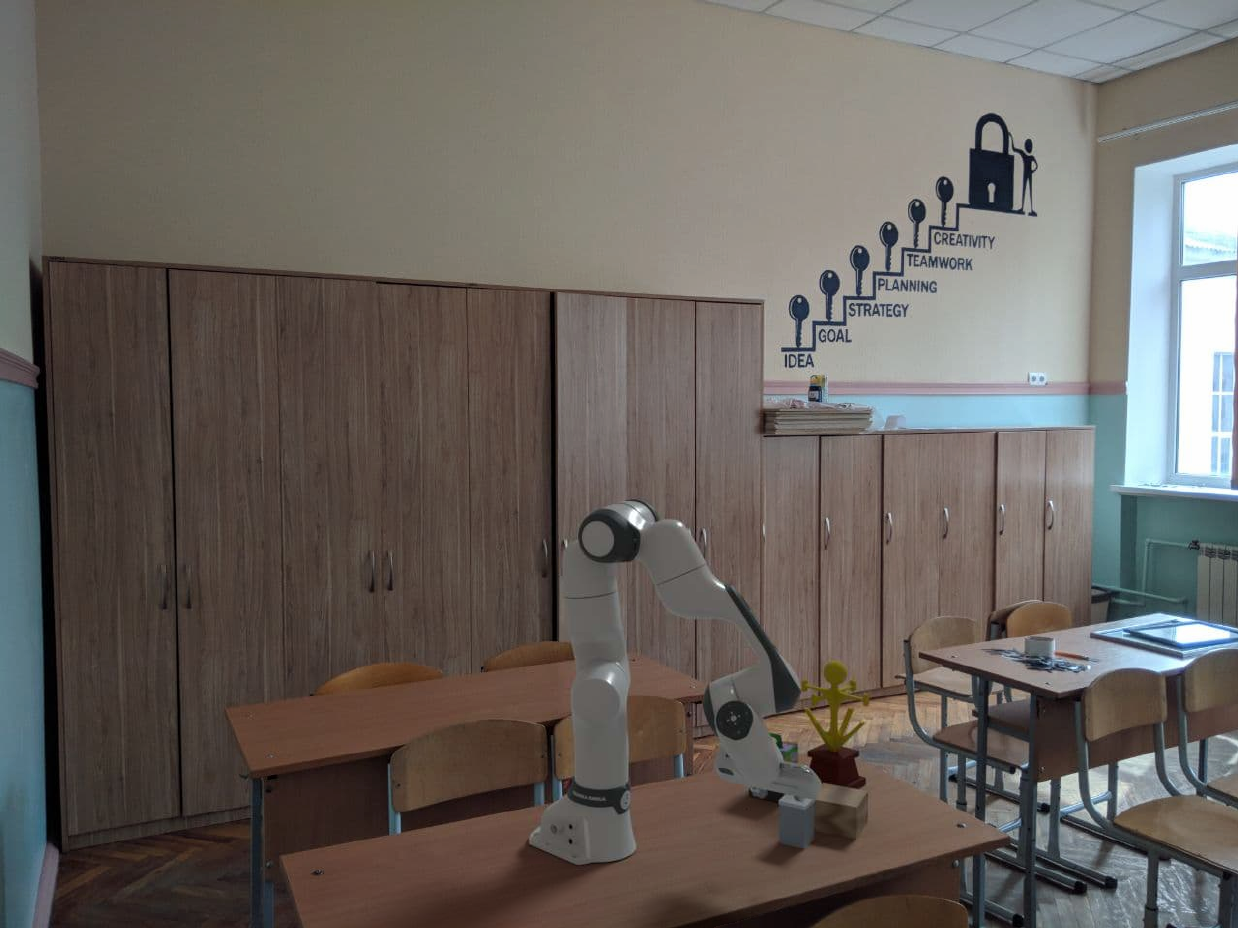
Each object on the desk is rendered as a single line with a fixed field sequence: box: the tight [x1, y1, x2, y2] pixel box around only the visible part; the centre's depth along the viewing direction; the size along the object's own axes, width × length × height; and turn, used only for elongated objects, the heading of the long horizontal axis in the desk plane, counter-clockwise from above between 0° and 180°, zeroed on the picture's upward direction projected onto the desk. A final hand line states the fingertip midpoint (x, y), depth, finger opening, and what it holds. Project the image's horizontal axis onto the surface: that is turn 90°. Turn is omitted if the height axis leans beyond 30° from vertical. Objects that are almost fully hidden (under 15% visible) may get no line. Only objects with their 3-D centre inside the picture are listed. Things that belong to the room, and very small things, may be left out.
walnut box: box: [814, 783, 869, 840], centre depth 212 cm, size 10×10×7 cm
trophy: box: [800, 660, 870, 789], centre depth 236 cm, size 14×16×30 cm
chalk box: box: [748, 732, 799, 804], centre depth 230 cm, size 9×9×15 cm
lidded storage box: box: [778, 794, 815, 850], centre depth 205 cm, size 6×6×9 cm
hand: (778, 793), depth 195 cm, fingers open, 8 cm apart
